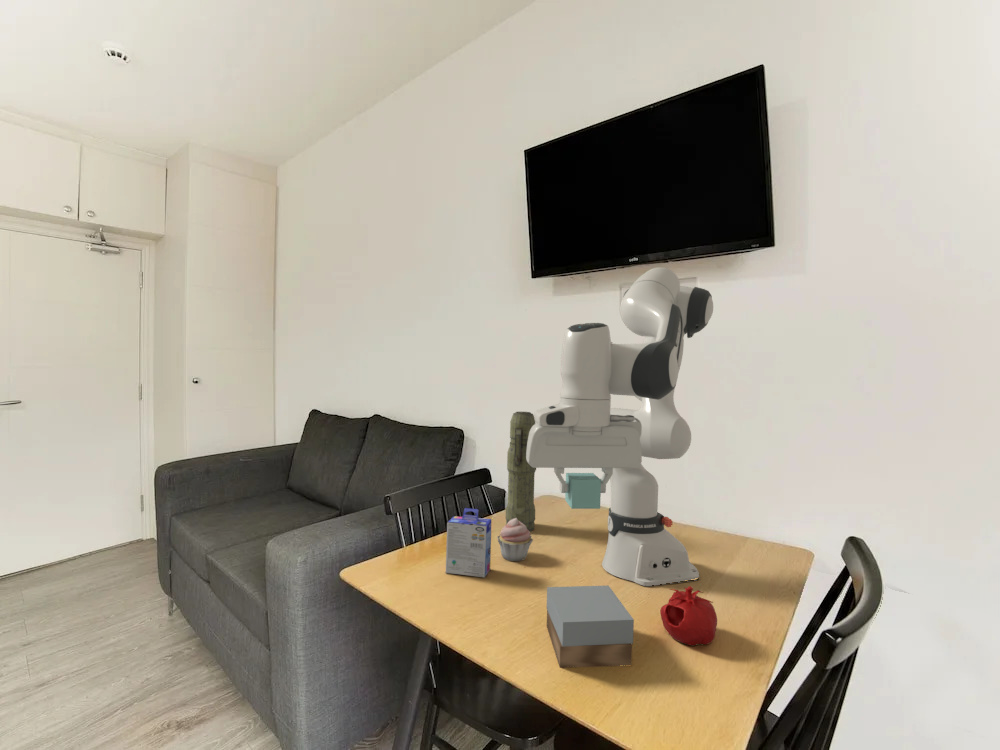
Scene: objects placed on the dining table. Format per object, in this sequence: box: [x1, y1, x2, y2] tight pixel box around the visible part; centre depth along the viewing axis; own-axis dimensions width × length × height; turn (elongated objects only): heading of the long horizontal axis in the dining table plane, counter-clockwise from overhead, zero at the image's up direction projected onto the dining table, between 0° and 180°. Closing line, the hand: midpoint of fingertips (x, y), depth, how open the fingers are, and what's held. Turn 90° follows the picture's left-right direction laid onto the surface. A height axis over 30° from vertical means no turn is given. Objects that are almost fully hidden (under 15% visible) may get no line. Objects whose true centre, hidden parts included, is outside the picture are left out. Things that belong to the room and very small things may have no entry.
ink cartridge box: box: [445, 507, 492, 578], centre depth 110 cm, size 10×6×14 cm, turn 79°
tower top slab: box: [546, 584, 635, 647], centre depth 82 cm, size 12×12×4 cm
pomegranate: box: [660, 585, 718, 646], centre depth 86 cm, size 10×10×9 cm
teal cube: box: [564, 472, 602, 510], centre depth 82 cm, size 5×5×5 cm
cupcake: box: [497, 518, 534, 562], centre depth 119 cm, size 9×9×10 cm
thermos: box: [505, 411, 537, 532], centre depth 141 cm, size 9×12×35 cm
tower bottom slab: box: [546, 609, 633, 669], centre depth 82 cm, size 12×12×4 cm
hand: (582, 492), depth 82 cm, fingers closed on teal cube, 5 cm apart
